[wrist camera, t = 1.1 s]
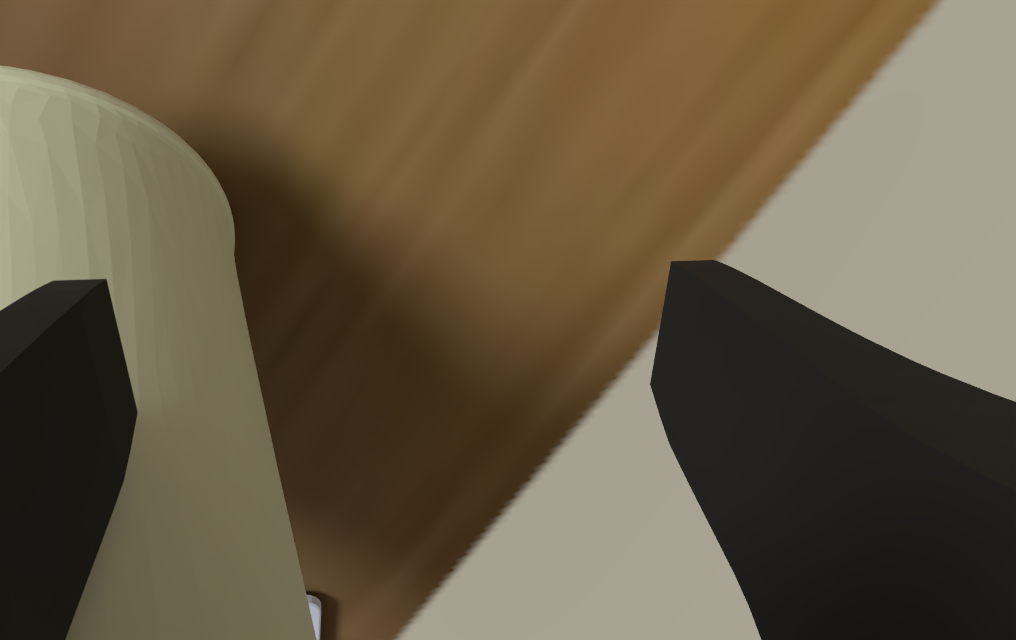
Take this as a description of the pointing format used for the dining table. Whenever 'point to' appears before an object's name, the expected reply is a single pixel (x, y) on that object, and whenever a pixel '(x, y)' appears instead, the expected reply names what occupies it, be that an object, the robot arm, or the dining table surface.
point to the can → (156, 364)
